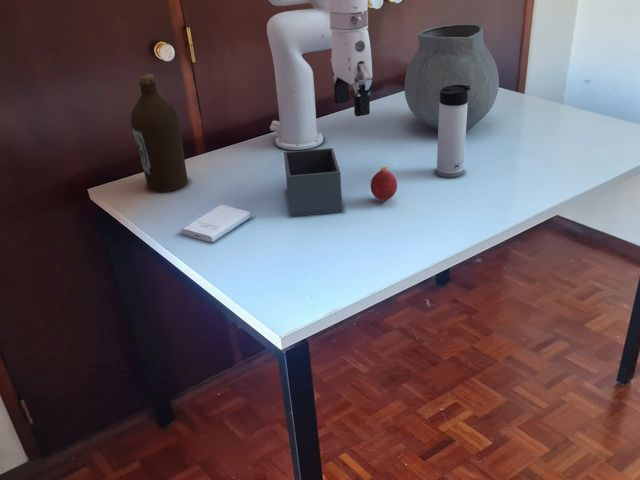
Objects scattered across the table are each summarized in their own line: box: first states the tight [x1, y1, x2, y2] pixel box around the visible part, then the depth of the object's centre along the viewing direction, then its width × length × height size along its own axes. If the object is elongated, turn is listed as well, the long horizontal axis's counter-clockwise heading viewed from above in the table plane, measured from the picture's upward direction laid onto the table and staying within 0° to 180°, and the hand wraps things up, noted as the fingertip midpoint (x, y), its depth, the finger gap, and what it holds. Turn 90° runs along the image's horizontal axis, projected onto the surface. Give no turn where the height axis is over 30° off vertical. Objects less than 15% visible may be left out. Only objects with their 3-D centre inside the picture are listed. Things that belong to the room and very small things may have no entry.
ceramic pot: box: [404, 23, 500, 130], centre depth 185 cm, size 24×24×25 cm
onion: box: [370, 165, 398, 203], centre depth 154 cm, size 6×6×8 cm
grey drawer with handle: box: [283, 147, 343, 217], centre depth 157 cm, size 19×11×9 cm, turn 8°
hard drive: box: [181, 204, 251, 243], centre depth 149 cm, size 2×8×12 cm
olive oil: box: [130, 73, 189, 193], centre depth 160 cm, size 11×11×25 cm
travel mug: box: [436, 85, 470, 179], centre depth 161 cm, size 6×7×20 cm
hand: (351, 108), depth 148 cm, fingers open, 9 cm apart
